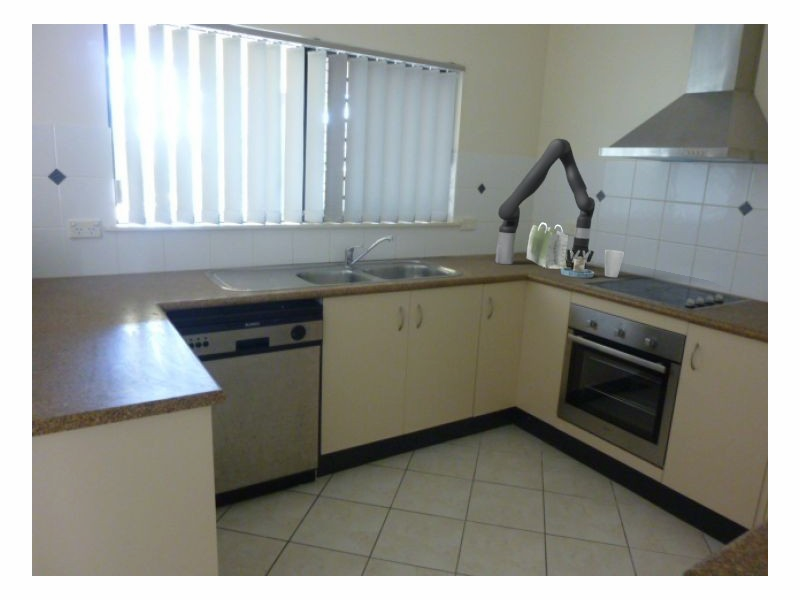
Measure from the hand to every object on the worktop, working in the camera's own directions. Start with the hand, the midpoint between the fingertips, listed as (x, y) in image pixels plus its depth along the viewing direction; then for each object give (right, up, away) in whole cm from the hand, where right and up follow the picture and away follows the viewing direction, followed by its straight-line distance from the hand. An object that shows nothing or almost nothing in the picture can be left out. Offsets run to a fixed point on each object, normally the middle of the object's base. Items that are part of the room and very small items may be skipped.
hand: (577, 269), depth 292 cm
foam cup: (+19, -3, +4) cm, 19 cm away
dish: (0, -3, +1) cm, 3 cm away
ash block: (0, 0, 0) cm, 0 cm away
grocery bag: (-8, +5, +32) cm, 34 cm away
